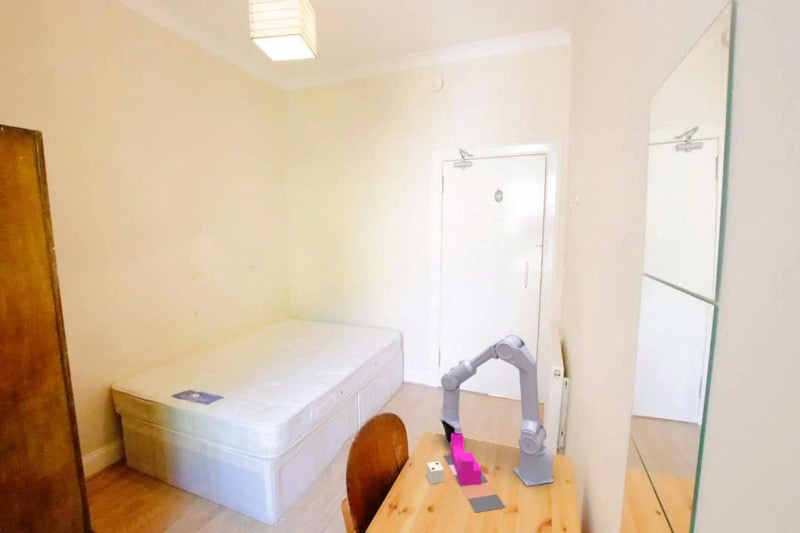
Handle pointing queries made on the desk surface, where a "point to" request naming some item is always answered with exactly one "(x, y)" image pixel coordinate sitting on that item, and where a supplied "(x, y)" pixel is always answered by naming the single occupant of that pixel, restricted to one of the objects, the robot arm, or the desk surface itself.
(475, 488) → the board
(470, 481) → the toy block
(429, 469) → the die
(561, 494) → the desk surface
